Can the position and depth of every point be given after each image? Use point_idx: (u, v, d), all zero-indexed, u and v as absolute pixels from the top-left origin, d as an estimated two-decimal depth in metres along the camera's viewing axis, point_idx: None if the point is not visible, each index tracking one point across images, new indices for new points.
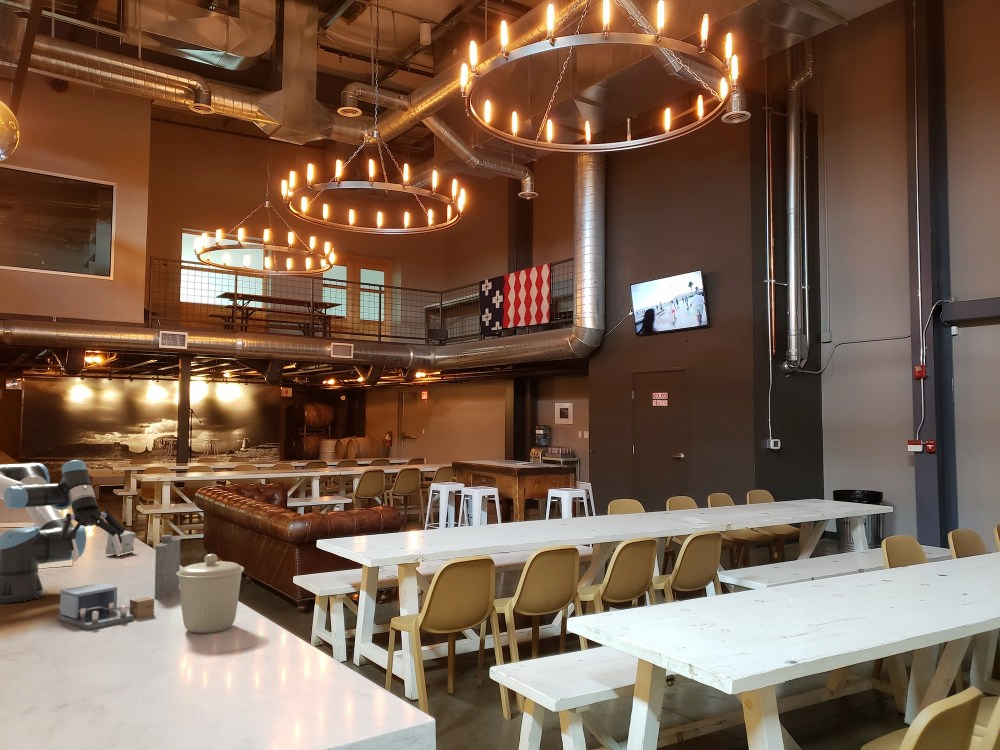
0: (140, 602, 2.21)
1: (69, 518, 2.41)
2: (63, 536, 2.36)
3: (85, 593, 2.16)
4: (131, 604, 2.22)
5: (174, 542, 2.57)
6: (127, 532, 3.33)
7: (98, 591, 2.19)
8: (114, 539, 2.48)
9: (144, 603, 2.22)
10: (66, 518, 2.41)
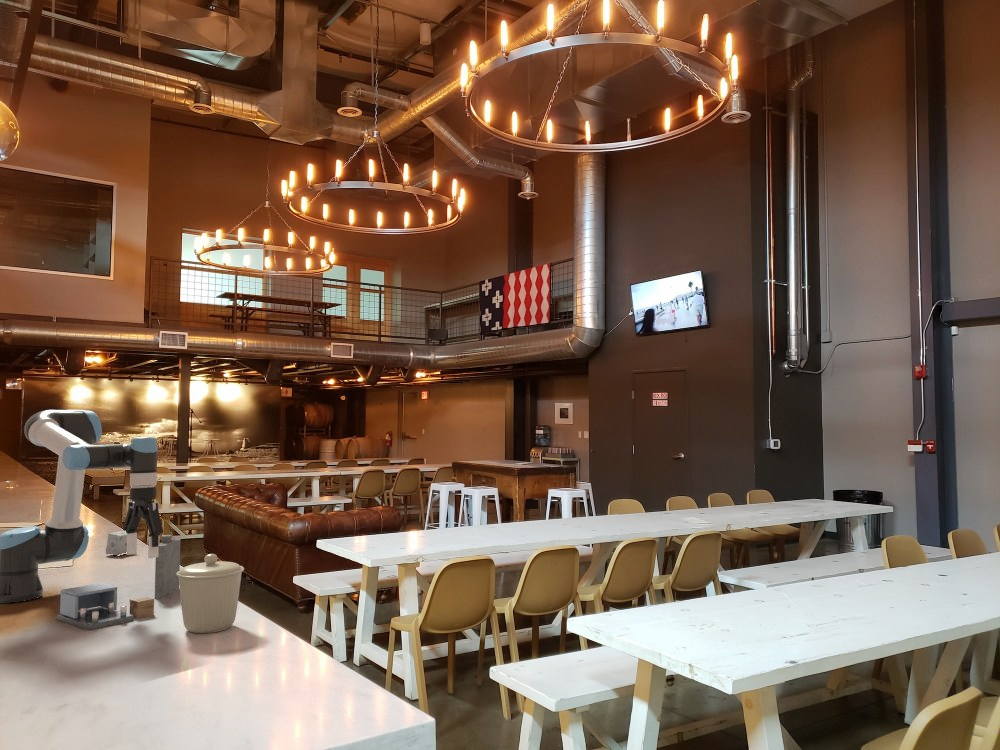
0: (140, 602, 2.21)
1: None
2: None
3: (85, 593, 2.16)
4: (131, 604, 2.22)
5: (174, 542, 2.57)
6: None
7: (98, 591, 2.19)
8: (132, 537, 2.29)
9: (144, 603, 2.22)
10: (156, 508, 2.22)
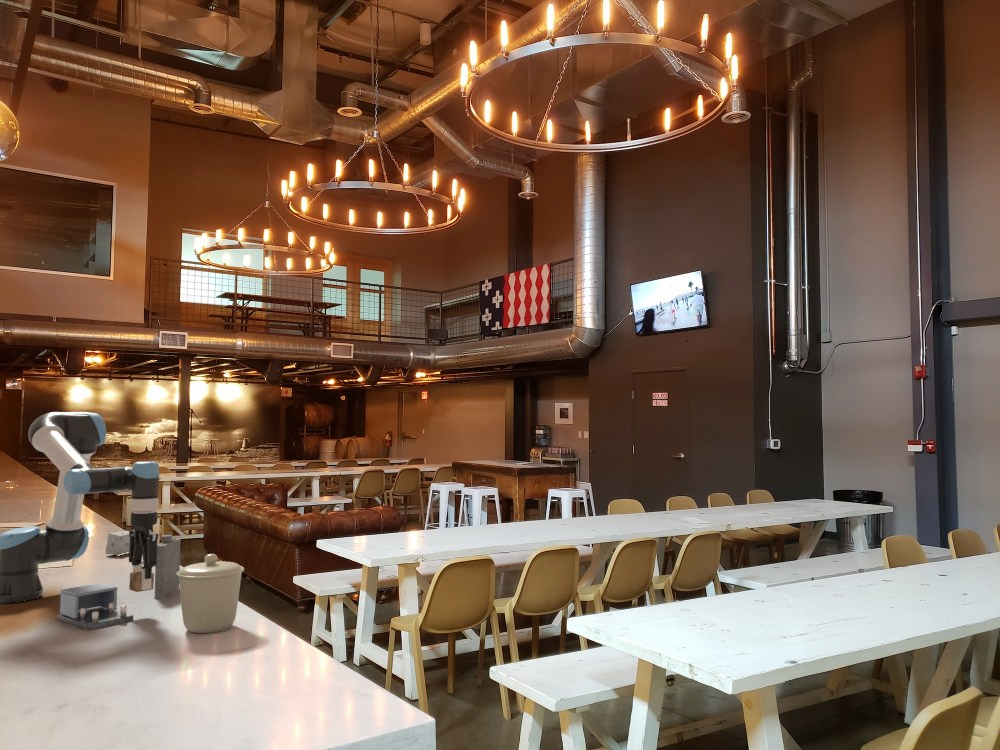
0: (140, 576, 2.21)
1: None
2: None
3: (85, 593, 2.16)
4: (131, 577, 2.23)
5: (174, 542, 2.57)
6: (127, 532, 3.33)
7: (98, 591, 2.19)
8: (138, 569, 2.26)
9: None
10: (155, 539, 2.22)
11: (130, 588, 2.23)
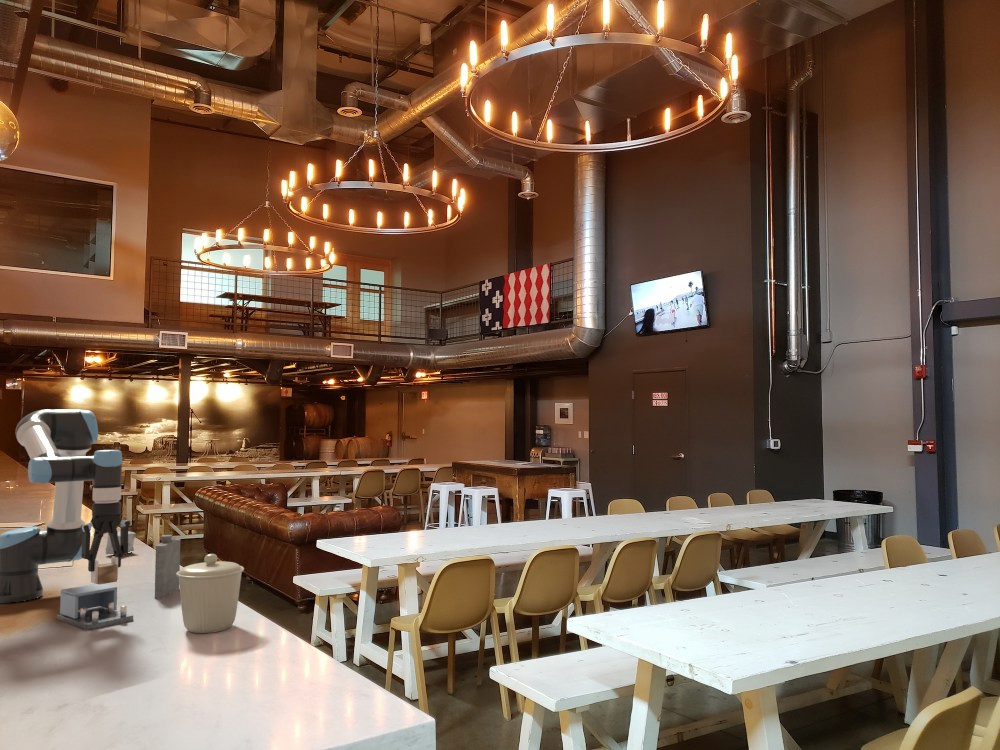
0: None
1: None
2: None
3: (85, 593, 2.16)
4: (103, 571, 2.13)
5: (174, 542, 2.57)
6: None
7: (98, 591, 2.19)
8: None
9: None
10: None
11: (102, 582, 2.13)
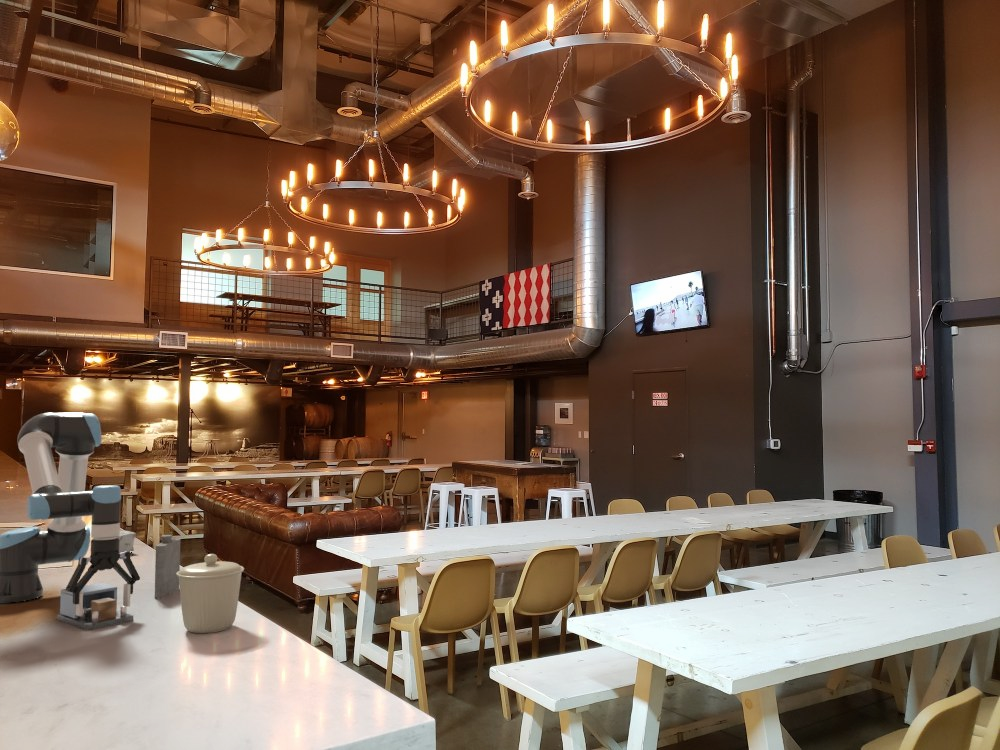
0: None
1: None
2: None
3: (85, 593, 2.16)
4: (102, 607, 2.13)
5: (174, 542, 2.57)
6: (127, 532, 3.33)
7: (98, 591, 2.19)
8: None
9: None
10: None
11: (100, 618, 2.12)
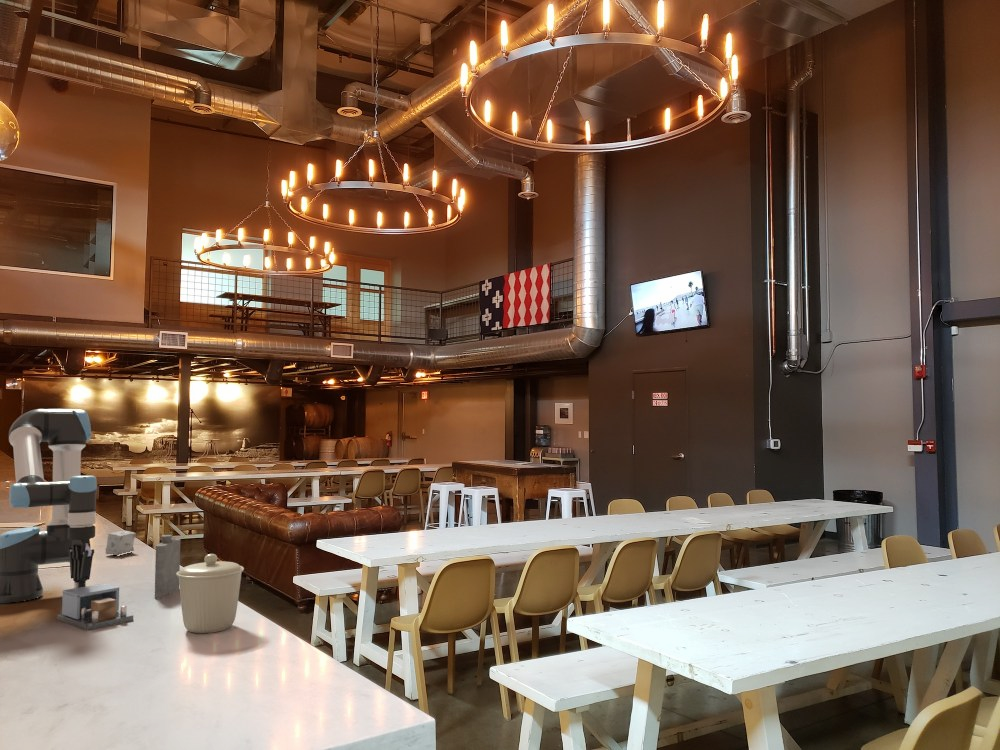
0: None
1: None
2: None
3: (87, 594, 2.15)
4: (102, 607, 2.13)
5: (174, 542, 2.57)
6: (127, 532, 3.33)
7: (100, 592, 2.18)
8: None
9: None
10: (90, 555, 2.23)
11: (100, 618, 2.12)
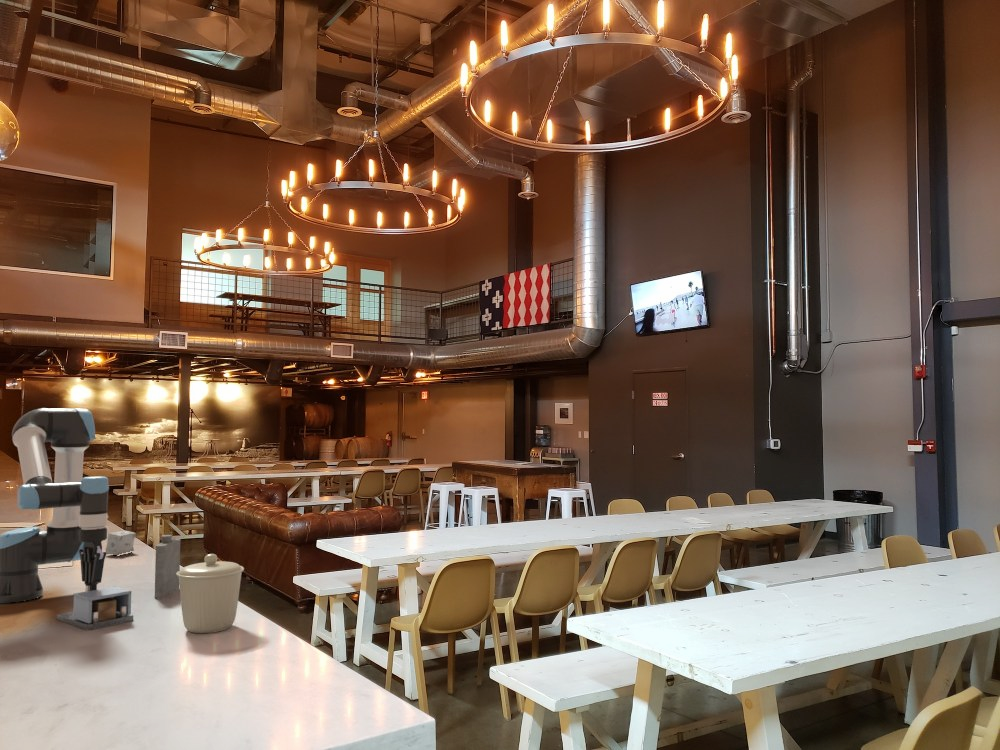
0: None
1: None
2: None
3: (99, 597, 2.10)
4: (102, 607, 2.13)
5: (174, 542, 2.57)
6: (127, 532, 3.33)
7: (112, 595, 2.13)
8: None
9: None
10: (102, 558, 2.18)
11: (100, 618, 2.12)
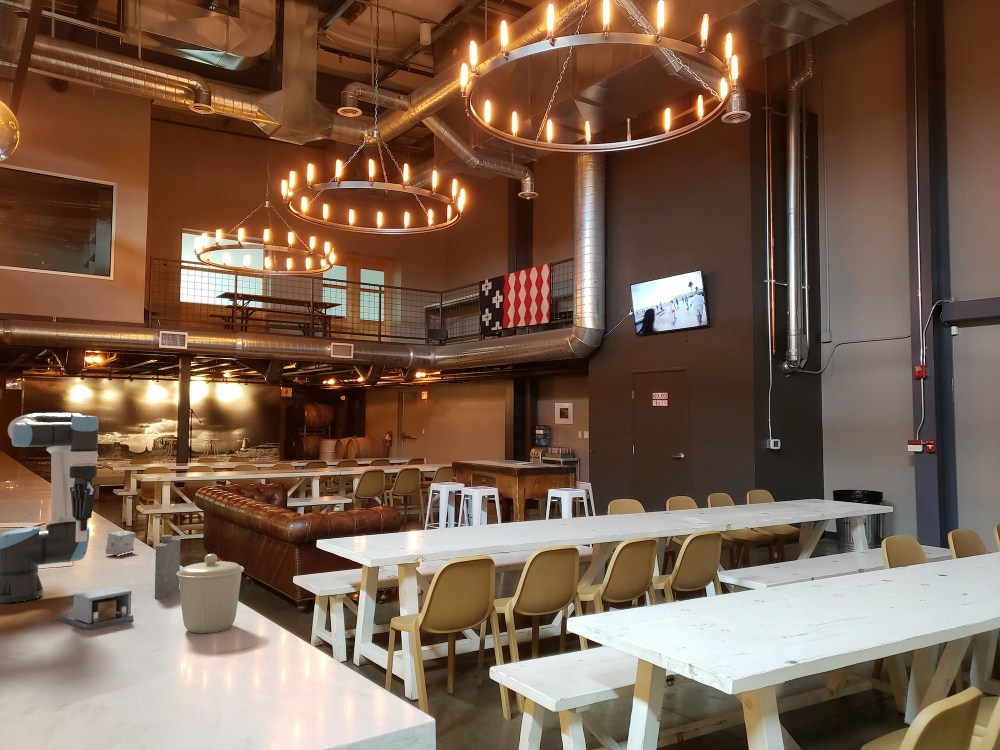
0: None
1: None
2: None
3: (99, 597, 2.10)
4: (102, 607, 2.13)
5: (174, 542, 2.57)
6: (127, 532, 3.33)
7: (112, 595, 2.13)
8: None
9: None
10: (92, 493, 2.24)
11: (100, 618, 2.12)
